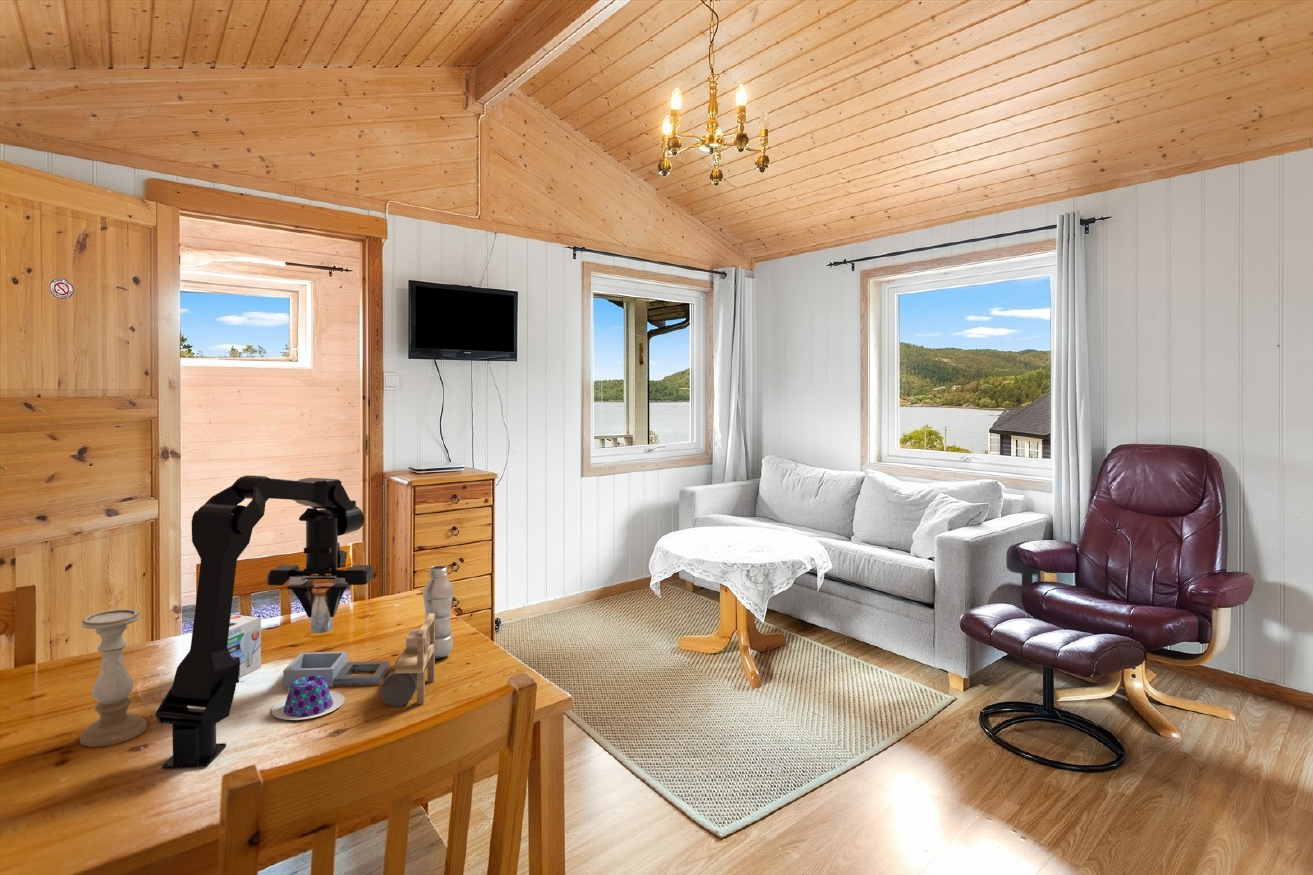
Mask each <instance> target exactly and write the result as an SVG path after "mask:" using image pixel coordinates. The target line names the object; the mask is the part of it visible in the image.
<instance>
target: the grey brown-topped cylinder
mask: <svg viewBox="0 0 1313 875" xmlns="http://www.w3.org/2000/svg"><path fill="white" fill-rule="evenodd" d="M334 584H335V583H334V582H333V583H332V582H319V583H313V584H312V585H311V586H309V593H311V618H310V632H311V633H313V634H325V633H329V632H331V631H333V630H334V629H333V628H334V619H333V618H334V617H331V613H330V599H331V586H333V585H334Z"/></svg>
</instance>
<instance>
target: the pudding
mask: <svg viewBox="0 0 1313 875" xmlns="http://www.w3.org/2000/svg"><path fill="white" fill-rule="evenodd" d="M329 688H330V687H328V684H327V681H326V679H325V678H324V677H320V676H318V675H314V676H305V677H302V678H299V679H296V680H295V681H294V682H293V683H292V684H291V686H290V688H288V692H287V696H286V697H285V698H282V699H281V700H279V701H277V702H276V703H275V704H274V706H272V707H271V713H272V715H273V717H275V718H278V719H282V720H288V721H289V720H290V721H299V720H301V721H302V720H308V719H314V718H317V717H321V716H324V715H327V714H328V713H331V712H333V711H335V710H337V709H338V708H339V707H341V706H343V703H344V702H345V696H344V695H343V694H341V693H339V692H338V691H333V690H330V689H329Z"/></svg>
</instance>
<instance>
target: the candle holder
mask: <svg viewBox="0 0 1313 875" xmlns="http://www.w3.org/2000/svg"><path fill="white" fill-rule="evenodd" d="M140 618H141V613H140V611H139V610H136V609H131V608H130V609H129V608H121V609H120V608H119V609H112V610H111V609H110V610H105V611H101V612H96V613H92V614H90V615H87V616H86V617H84V618H83V619H82V621H81V627H83V628H85V629H88V630H89V629H90V630H94V632H95V634H96V635H98V636H99V637H100V638H101V642H100V643H99V645H98V647H97V648H96V649H97V651H98V652H100V653H101V667H100V671H99V674H98V676H97V678H96V679H95V681H94V684H93V686H92V689H91V695H92V698H93V699H94V700H95V701H97V702H98V704H97V705H95V707H94V711H95V712H97V714H98V715H99V717H100V718H98V719H97V720H95V721H93V722H91V723H90V724H89V726H88V727H87V728H86V729H84V730H83V731H82V732H81V734H80V735H79V742H80V744H81V745H82V746H84V747H89V748H100V747H108V746H115V745H117V744H121V743H123V742H127V741H129V740H132V739H134V738H136V737H139V735H141V734H143V733H144V731H146V729H147V726H148V724H147V720H146V719H145V718H144V717H141V716H139V715H138V714H136V713H131V712H128V709H129V707H130V705H131V704H132V699H131V698H130V697H129V695H130V694H132V691H133V689H134V681H133V678H132V676H131V675H130V673H129V672H128V670H127V669H126V666H125V663H124V654H123V653H124V652H123V651H124V648H125V647H126V646H127V642H126V641H125V640H124V638H123V634H124V632H125V631H126V630H127V629H128V625H130V624H132V623H135V622H137V621H138V620H139V619H140Z"/></svg>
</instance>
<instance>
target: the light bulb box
mask: <svg viewBox="0 0 1313 875" xmlns="http://www.w3.org/2000/svg"><path fill="white" fill-rule="evenodd" d="M261 636H262V618H261V617H260V616H259V617H258V616H247V615H242V614H241V615H240V614H233V615H231V616H230V625H229V634H228V643H227V649H228V651H229V653H230V655H231V656H232V657H239V658H240V667H239V672H238V678H239V679H240V678H242V677H244V676H245V675H247V674H251V673H252V672H254V671H256V670H258V669H260V668H261V667H262V637H261Z"/></svg>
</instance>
